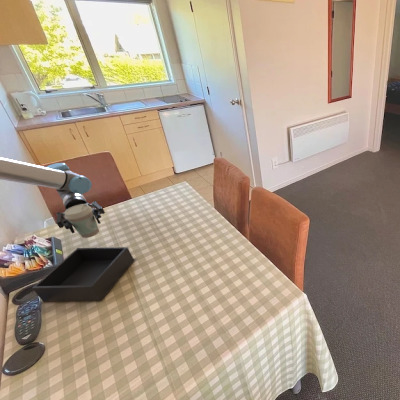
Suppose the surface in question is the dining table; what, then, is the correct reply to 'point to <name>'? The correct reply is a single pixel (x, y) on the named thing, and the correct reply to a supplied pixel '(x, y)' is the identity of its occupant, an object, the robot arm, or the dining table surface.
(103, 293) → the shallow black tray
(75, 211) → the coffee cup
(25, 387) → the dining table surface
